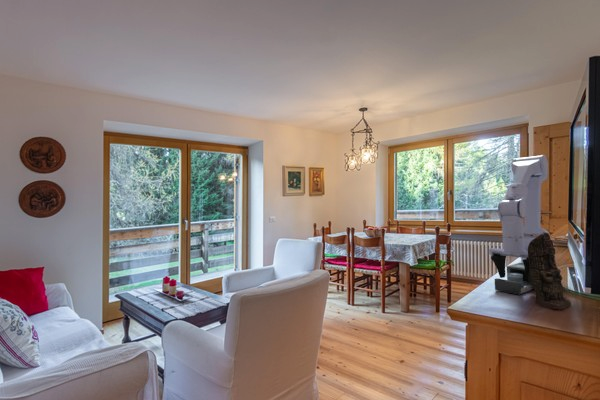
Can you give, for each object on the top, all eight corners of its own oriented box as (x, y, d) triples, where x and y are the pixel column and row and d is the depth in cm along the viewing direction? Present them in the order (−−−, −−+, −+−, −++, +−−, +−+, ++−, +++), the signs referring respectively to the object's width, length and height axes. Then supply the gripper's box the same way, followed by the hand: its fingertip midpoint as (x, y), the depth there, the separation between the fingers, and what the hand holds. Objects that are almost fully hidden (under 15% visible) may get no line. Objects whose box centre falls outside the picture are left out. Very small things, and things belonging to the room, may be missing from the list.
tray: (512, 284, 107) (511, 273, 107) (536, 288, 101) (535, 277, 101) (495, 289, 101) (494, 278, 101) (519, 294, 95) (518, 283, 95)
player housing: (520, 280, 112) (519, 262, 112) (551, 285, 104) (550, 266, 104) (507, 285, 107) (506, 265, 107) (538, 290, 99) (537, 270, 99)
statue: (559, 311, 81) (555, 233, 82) (529, 304, 88) (525, 232, 88) (572, 306, 84) (568, 231, 85) (542, 299, 91) (538, 230, 91)
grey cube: (511, 284, 104) (511, 272, 104) (525, 287, 100) (525, 274, 100) (505, 286, 102) (504, 274, 102) (519, 289, 98) (518, 276, 98)
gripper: (483, 236, 105) (485, 277, 105) (532, 239, 93) (535, 286, 93) (494, 234, 109) (496, 274, 109) (544, 237, 96) (546, 282, 96)
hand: (515, 279), depth 101 cm, fingers open, 7 cm apart
